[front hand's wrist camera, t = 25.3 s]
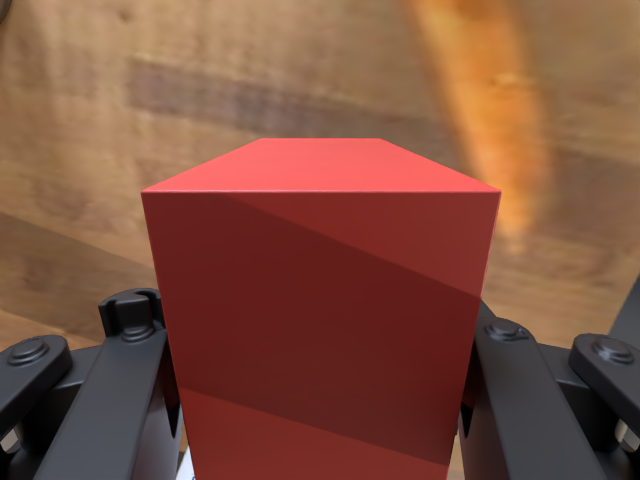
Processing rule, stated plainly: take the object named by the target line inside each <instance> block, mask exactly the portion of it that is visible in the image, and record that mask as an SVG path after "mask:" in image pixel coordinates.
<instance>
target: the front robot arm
mask: <svg viewBox="0 0 640 480" xmlns="http://www.w3.org/2000/svg"><path fill="white" fill-rule="evenodd" d="M10 3H11V0H0V23H1V22H2V20H3V19H4V17H5V15H6V13H7V11H8V9H9V6H10ZM98 308H99V312H100V316H101V319H102V323H103V327H104V331H105V334H106V339H105V341H104V343H103V344H102V345H98V346H93V347H88V348H83V349H78V350H72V351H70V350H69V347H68V344H67V340H66V339H65V338H63V337H62V336H57V335H46V336H36V337H32V338H28V339H25V340H23V341H21V342H19V343H17V344H15V345H13V346H10V347H9V348H7V349H5V350H4V351H2V352H1V353H0V442H1V441H2V440H3V438H4V437H5V436H6V435H7V434H8V433H9V432H10V431H11V430H12V429H14V431H15V433H16V436H17V438H18V440H17V442H16V443H15V444H14V445H13V446H12V447H11V448H10V449H8V450H7V451H6V452H5V451H4V450H3V448H2V446H1V444H0V480H175V476H176V468H177V461H178V453H179V445H180V437H181V429H182V422H183V413H182V408H181V403H180V397H179V392H178V387H177V382H176V376H175V371H174V366H173V360H172V355H171V350H170V345H169V339H168V334H167V329H166V324H165V318H164V313H163V308H162V303H161V297H160V292H159V291H158V290H156V289H151V288H137V289H131V290H126V291H123V292H120V293H117V294H114V295H112V296H111V297H109V298H107V299H105V300H104V301H103V302H102V303H101V304H100V305H99V306H98ZM627 427H629V428H630V429H631V430H632V431H633V432H634V433H635V434H636V435H637V436H638V438H639V439H640V350H638V349H637V348H635V347H633V346H632V345H630V344H627V343H625V342H623V341H621V340H619V339H617V338H614V337H609V336H607V335H603V334H591V333H587V334H580V335H578V336H577V337H575V338H574V342H573V345H572V348H571V349H566V348H560V347H555V346H550V345H545V344H540V343H537V342H536V340H535V338H534V337H533V335H532V334H531V333H530V332H529V331H528V330H527V329H526V328H524V327H523V326H521V325H520V324H517V323H515V322H513V321H510V320H508V319H503V318H499V317H496V316H495V315H494V314H493V312H492V311H491V310H490V309H489V308H488V307H487V305H486V304H485V303H484V302H483V301H482V300H481V303H480V308H479V313H478V318H477V324H476V329H475V334H474V339H473V344H472V350H471V355H470V360H469V365H468V371H467V376H466V381H465V386H464V391H463V397H462V402H461V407H460V412H459V417H458V423H457V428H456V433H455V435H457V431H458V429H459V436H460V444H461V452H462V460H463V467H464V475H465V480H640V445H639V447H638V449H637V450H636V451H635V450H634V449H633V448H632V447H630V446H629V445H628V444H627V443H626V441H625V440H624V439H623V437H624V434H625V432H626V430H627Z"/></svg>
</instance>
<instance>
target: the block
mask: <svg viewBox="0 0 640 480" xmlns="http://www.w3.org/2000/svg"><path fill="white" fill-rule="evenodd" d="M141 197H142V203H143V208H144V213H145V218H146V224H147V229H148V234H149V240H150V245H151V250H152V255H153V261H154V266H155V271H156V276H157V282H158V287H159V292H160V297H161V303H162V308H163V313H164V318H165V324H166V329H167V334H168V339H169V345H170V350H171V355H172V360H173V366H174V371H175V376H176V382H177V387H178V392H179V397H180V403H181V408H182V413H183V418H184V424H185V429H186V434H187V439H188V445H189V450H190V455H191V460H192V466H193V471H194V476H195V480H447V475H448V470H449V464H450V459H451V454H452V449H453V444H454V438H455V433H456V428H457V423H458V417H459V412H460V407H461V402H462V397H463V391H464V386H465V381H466V376H467V371H468V365H469V360H470V355H471V350H472V344H473V339H474V334H475V329H476V324H477V318H478V313H479V308H480V303H481V298H482V292H483V287H484V282H485V277H486V271H487V266H488V261H489V256H490V251H491V245H492V240H493V235H494V230H495V225H496V219H497V214H498V209H499V204H500V198H501V190H498V189H496V188H494V187H491V186H489V185H487V184H484V183H482V182H480V181H477V180H475V179H473V178H471V177H468V176H466V175H464V174H461V173H459V172H457V171H454V170H452V169H450V168H447V167H445V166H443V165H440V164H438V163H436V162H433V161H431V160H429V159H426V158H424V157H422V156H419V155H417V154H415V153H413V152H410V151H408V150H406V149H403V148H401V147H399V146H396V145H394V144H392V143H389V142H387V141H385V140H382V139H380V138H261V139H259V140H257V141H254V142H252V143H250V144H247V145H245V146H243V147H240V148H238V149H236V150H234V151H231V152H229V153H227V154H224V155H222V156H220V157H217V158H215V159H213V160H211V161H208V162H206V163H204V164H201V165H199V166H197V167H195V168H192V169H190V170H188V171H185V172H183V173H181V174H178V175H176V176H174V177H172V178H169V179H167V180H165V181H162V182H160V183H158V184H155V185H153V186H151V187H149V188H146V189H144V190H142V191H141Z"/></svg>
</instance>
